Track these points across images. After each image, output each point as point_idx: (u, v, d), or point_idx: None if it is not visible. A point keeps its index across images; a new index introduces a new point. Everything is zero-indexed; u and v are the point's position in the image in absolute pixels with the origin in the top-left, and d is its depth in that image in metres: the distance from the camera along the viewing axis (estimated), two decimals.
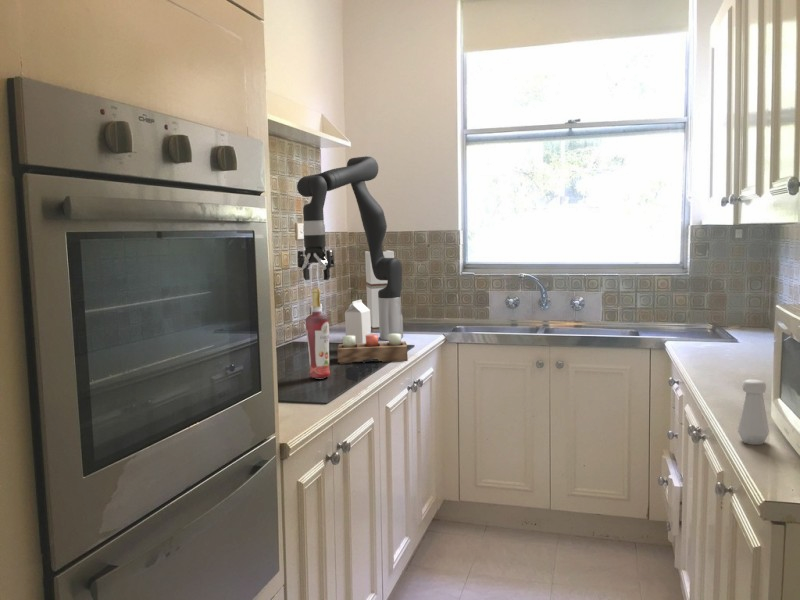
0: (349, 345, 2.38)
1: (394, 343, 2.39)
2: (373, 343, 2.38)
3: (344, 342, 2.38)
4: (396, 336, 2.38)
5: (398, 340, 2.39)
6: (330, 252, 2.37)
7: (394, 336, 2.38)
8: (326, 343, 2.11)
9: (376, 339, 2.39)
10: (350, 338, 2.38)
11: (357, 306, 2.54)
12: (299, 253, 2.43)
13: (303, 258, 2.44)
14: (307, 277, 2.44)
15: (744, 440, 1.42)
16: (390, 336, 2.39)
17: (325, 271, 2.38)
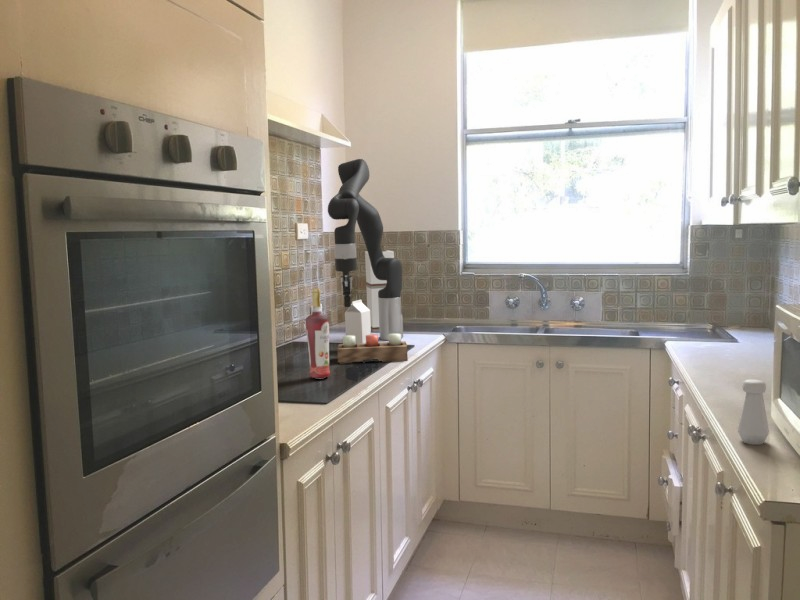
0: (349, 345, 2.38)
1: (394, 343, 2.39)
2: (373, 343, 2.38)
3: (344, 342, 2.38)
4: (396, 336, 2.38)
5: (398, 340, 2.39)
6: None
7: (394, 336, 2.38)
8: (326, 343, 2.11)
9: (376, 339, 2.39)
10: (350, 338, 2.38)
11: (357, 306, 2.54)
12: (349, 283, 2.32)
13: None
14: None
15: (744, 440, 1.42)
16: (390, 336, 2.39)
17: None
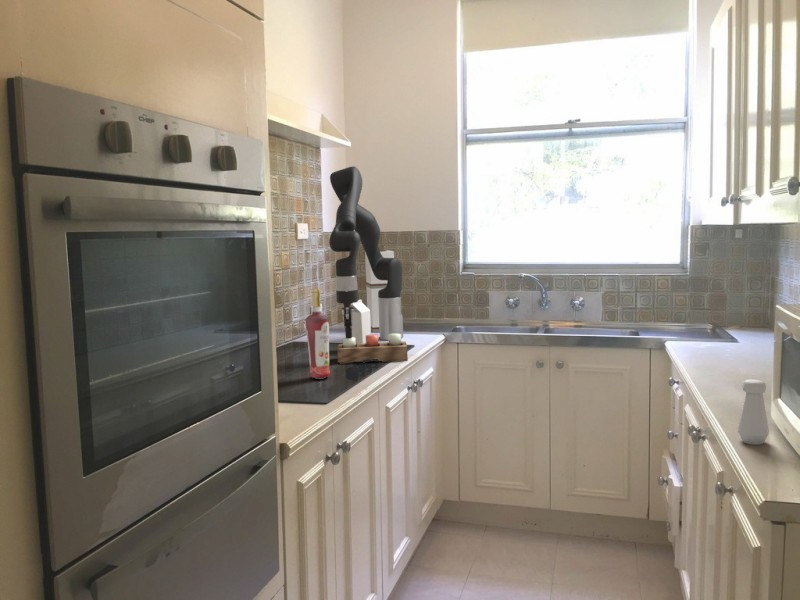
0: (349, 347, 2.38)
1: (394, 343, 2.39)
2: (373, 343, 2.38)
3: (344, 344, 2.38)
4: (396, 336, 2.38)
5: (398, 340, 2.39)
6: None
7: (394, 336, 2.38)
8: (326, 343, 2.11)
9: (376, 339, 2.39)
10: (350, 340, 2.38)
11: (357, 306, 2.54)
12: (350, 315, 2.34)
13: None
14: None
15: (744, 440, 1.42)
16: (390, 336, 2.39)
17: None
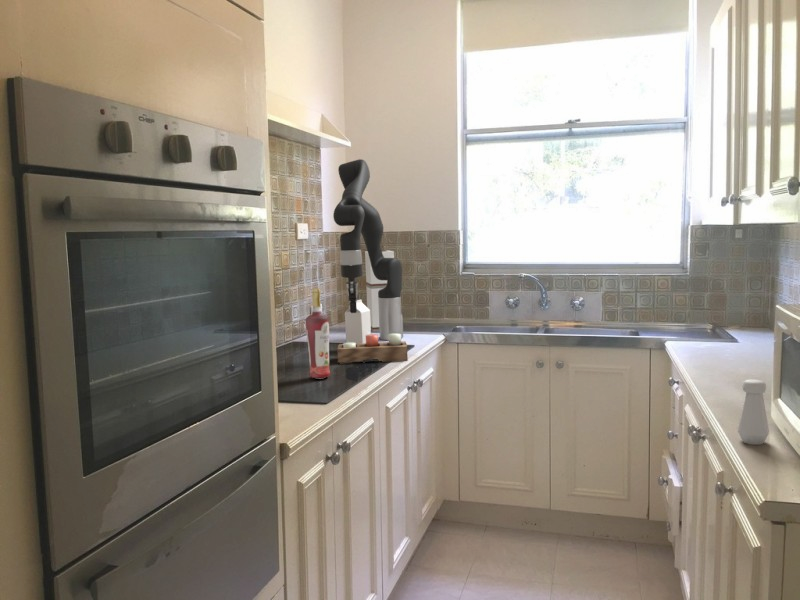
0: None
1: (394, 343, 2.39)
2: (373, 343, 2.38)
3: None
4: (396, 336, 2.38)
5: (398, 340, 2.39)
6: None
7: (394, 336, 2.38)
8: (326, 343, 2.11)
9: (376, 339, 2.39)
10: (350, 345, 2.38)
11: (357, 306, 2.54)
12: (355, 289, 2.33)
13: None
14: None
15: (744, 440, 1.42)
16: (390, 336, 2.39)
17: None
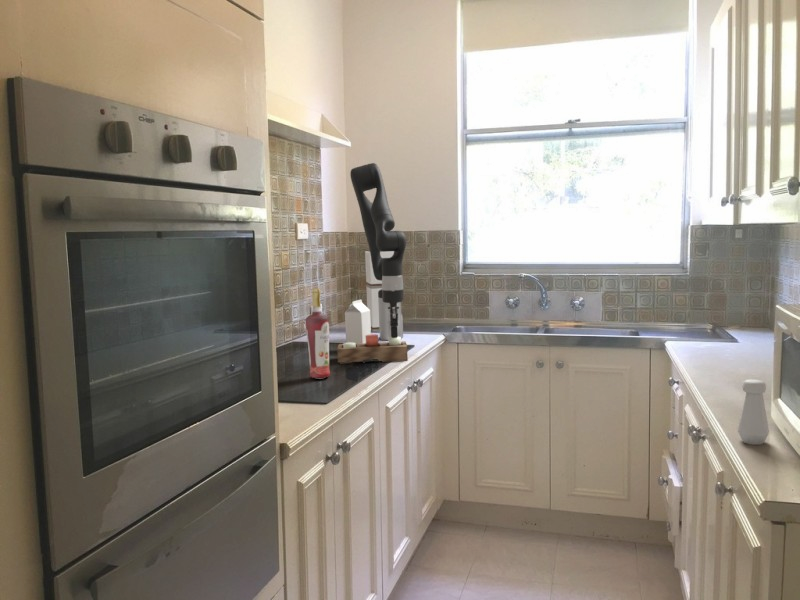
0: None
1: None
2: (373, 343, 2.38)
3: None
4: (396, 339, 2.38)
5: (398, 343, 2.39)
6: None
7: (394, 339, 2.38)
8: (326, 343, 2.11)
9: (376, 339, 2.39)
10: (350, 345, 2.38)
11: (357, 306, 2.54)
12: None
13: None
14: None
15: (744, 440, 1.42)
16: (390, 339, 2.39)
17: None
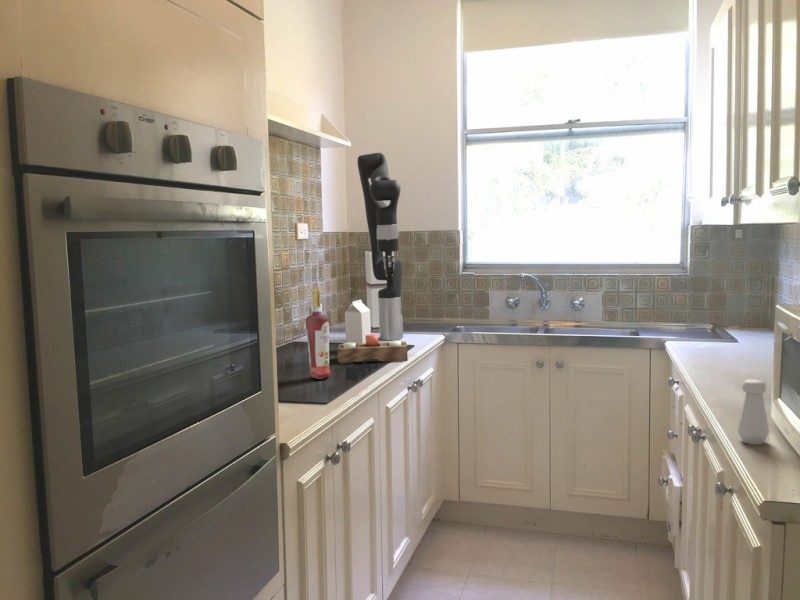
0: None
1: None
2: (373, 343, 2.38)
3: None
4: (396, 343, 2.39)
5: None
6: None
7: (394, 343, 2.39)
8: (326, 343, 2.11)
9: (376, 339, 2.39)
10: (350, 345, 2.38)
11: (357, 306, 2.54)
12: None
13: None
14: None
15: (744, 440, 1.42)
16: (390, 343, 2.39)
17: None
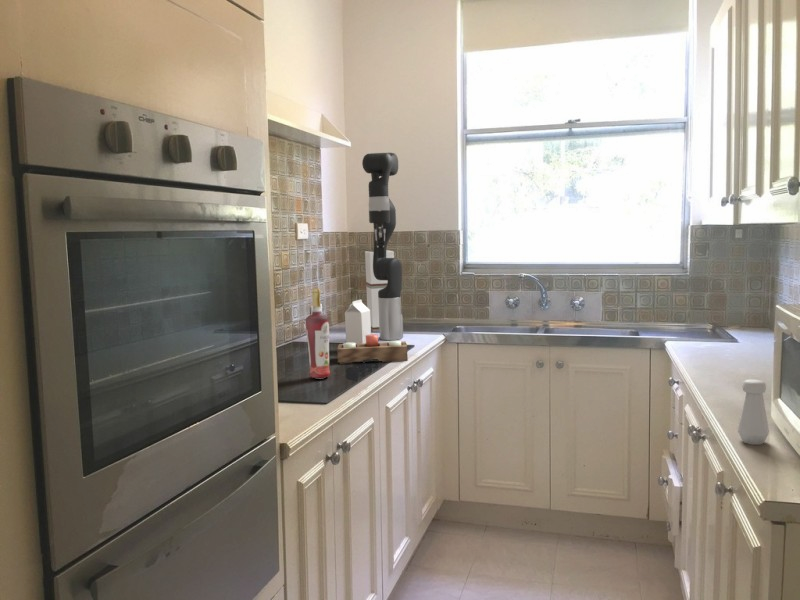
0: None
1: None
2: (373, 343, 2.38)
3: None
4: (396, 343, 2.39)
5: None
6: None
7: (394, 343, 2.39)
8: (326, 343, 2.11)
9: (376, 339, 2.39)
10: (350, 345, 2.38)
11: (357, 306, 2.54)
12: None
13: None
14: None
15: (744, 440, 1.42)
16: (390, 343, 2.39)
17: None
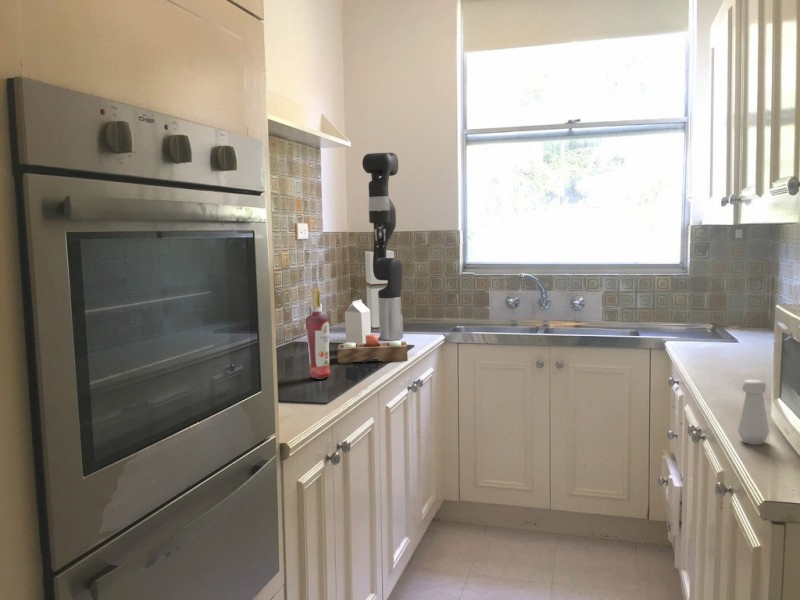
0: None
1: None
2: (373, 343, 2.38)
3: None
4: (396, 343, 2.39)
5: None
6: None
7: (394, 343, 2.39)
8: (326, 343, 2.11)
9: (376, 339, 2.39)
10: (350, 345, 2.38)
11: (357, 306, 2.54)
12: None
13: None
14: None
15: (744, 440, 1.42)
16: (390, 343, 2.39)
17: None
